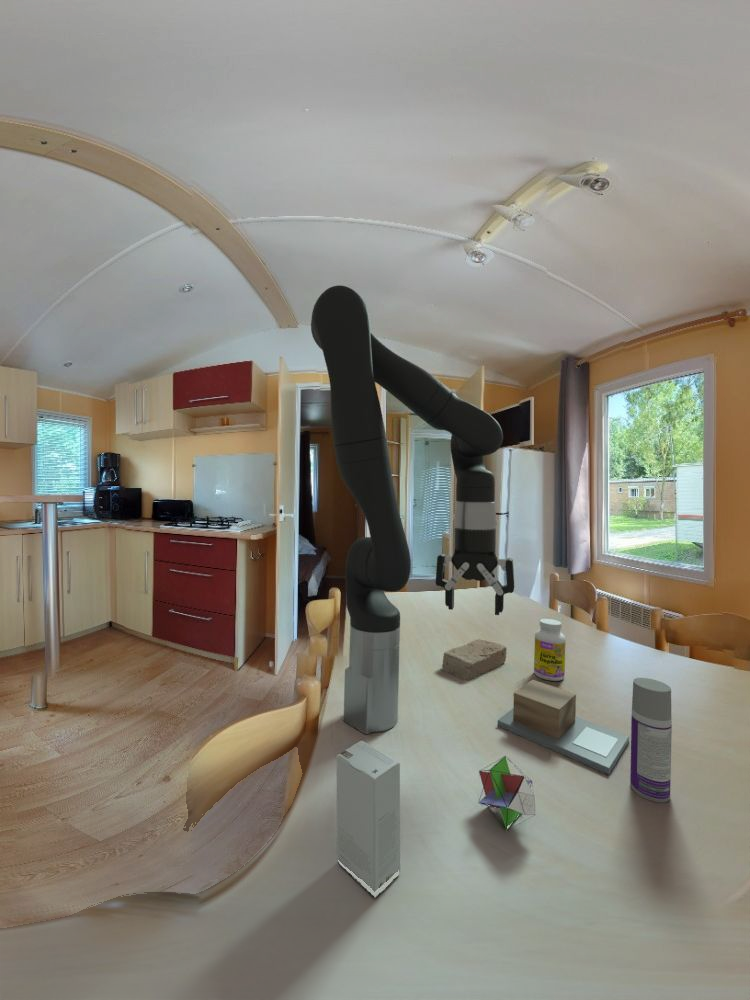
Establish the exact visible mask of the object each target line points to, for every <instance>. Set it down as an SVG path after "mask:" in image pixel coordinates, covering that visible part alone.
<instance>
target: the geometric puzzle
mask: <svg viewBox="0 0 750 1000" xmlns="http://www.w3.org/2000/svg"><path fill="white" fill-rule="evenodd" d="M508 760H509V763H512V760H510V758H508V757H507V755H506V754H505V755H504V756H503V757H501V758H500V759H498V761H497V763H496V761H494V762H493V763H491V764H489V765H487V766H486V767H484V768H482V769H480V770H478V774H479V778H480V779H481V783H482V786H483V787H482V791H481V793H480V795H479V798H478V802H477V803H478V804H480V805H481V807H482V808H484V806H487V807H488V805H490V806H491V807H490V808H494V807H496V808H495V809H498V808H500V809H499V810H500V812H501V816H502V820H503V824H504V828H505V829H506V830H507V826H508V825H510V824H511V823H512V822H513V821H514V820H515V819H516V818H517V816H518V815H520V814H521V815H523V816H530V817H528V818H527V819H525V821H527V820H528V819H530V818H532V816H537V813H536V802H535V801H536V800H535V795H534V792H533V790H532V789H531V787H532V788H534V787H533V786H534V785H533V780H532V779H529V777H527V776H526V775H523V771H521V769H520V768H519V767H518V766H517V765H515V768H516V769H517V771H518V772H519V773H520V774H521V775H519V774H513V773H511V772H510V771H511V770H510V767H509V765H508ZM494 763H495V764H494ZM493 764H494V765H493ZM491 765H493V766H492V767H491V768H490V769H485V768H488V767H490V766H491ZM484 769H485V770H484ZM519 770H520V771H519ZM483 792H484V794H485V796H484V797H483V798H482V799H481V797H482V795H483ZM521 815H520V816H521ZM531 815H532V816H531ZM517 819H518V818H517ZM517 819H516V820H517ZM521 823H523V821H521ZM521 823H518V824H516V826H518V825H520V824H521ZM512 828H514V826H512V827H510V828H509V829H508V830H507V831H510V830H511V829H512ZM506 830H505V831H506Z"/></svg>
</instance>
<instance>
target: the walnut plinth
mask: <svg viewBox="0 0 750 1000" xmlns="http://www.w3.org/2000/svg"><path fill="white" fill-rule="evenodd" d="M576 700H577V693H574V692H571V691H567V690H564V689H562V688H558V687H555V686H552V685H550V684H547V683H544V682H541V681H537V680H534V679H531V680H530V681H528V682H527V683H525V684H524V685H523V686H521V687H520V688H518V689H517V690H516V691H514V692H513V708H512V709H513V721H516V722H518V723H521V724H523V725H525V726H528V727H530V728H533V729H535V730H537V731H540V732H542V733H545V734H547V735H549V736H552V737H554V738H556V739H560V738H561V737H562V736H563V734H564V733H565V732H566V731H567V730H568V729H569V728H570V727H571V726H572V725H573V724H574V723H575V716H576V709H577V707H576V706H577V705H576V702H577V701H576Z"/></svg>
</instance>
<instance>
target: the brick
mask: <svg viewBox="0 0 750 1000" xmlns="http://www.w3.org/2000/svg"><path fill="white" fill-rule="evenodd" d="M507 650H508V649H507V647H506V646H505V645H503V644H501V643H498V642H493V641H491V640H490V641H489V640H487V639H485V640H484V639H481V638H478V639H473V640H471V641H470V642H469V643H467V644H464V645H461V646H458V647H454V648H452V649H449V650H447V651H444V653H443V659H442V665H441V668H442V670H443V671H445V672H448V673H451V674H453V675H454V676H456V677H459V678H461V679H462V680H463V679H464V680H467V681H470V680H472V679H475V678H477V677H478V676H480V675H482V674H485V673H487V672H489V671H491V670H494V669H496V668H498V667H500V666H501V665H502V664H504V663H506V660H507Z"/></svg>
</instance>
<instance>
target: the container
mask: <svg viewBox="0 0 750 1000" xmlns="http://www.w3.org/2000/svg"><path fill="white" fill-rule="evenodd" d="M632 682H633V683H632V697H631V698H632V699H631V702H632V703H631V716H630V717H631V722H630V723H631V725H630V726H631V727H630V731H631V733H630V771H629V772H630V775H629V776H630V778H629V779H630V783H629V785H630V787H631V788H632V790H633V792H635V793H636V794H638V796H641V797H642V798H643V799H646V800H648V801H651V802H655V803H667V802H669V801H670V800H671V780H672V779H671V775H672V774H671V773H672V772H671V771H672V768H671V767H672V728H673V725H672V720H673V719H672V688H671V687H670V686H669V685H668V684H666V683H665V682H662V681H659V680H656V679H653V678H648V677H635V678H634V679H633V680H632Z"/></svg>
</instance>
